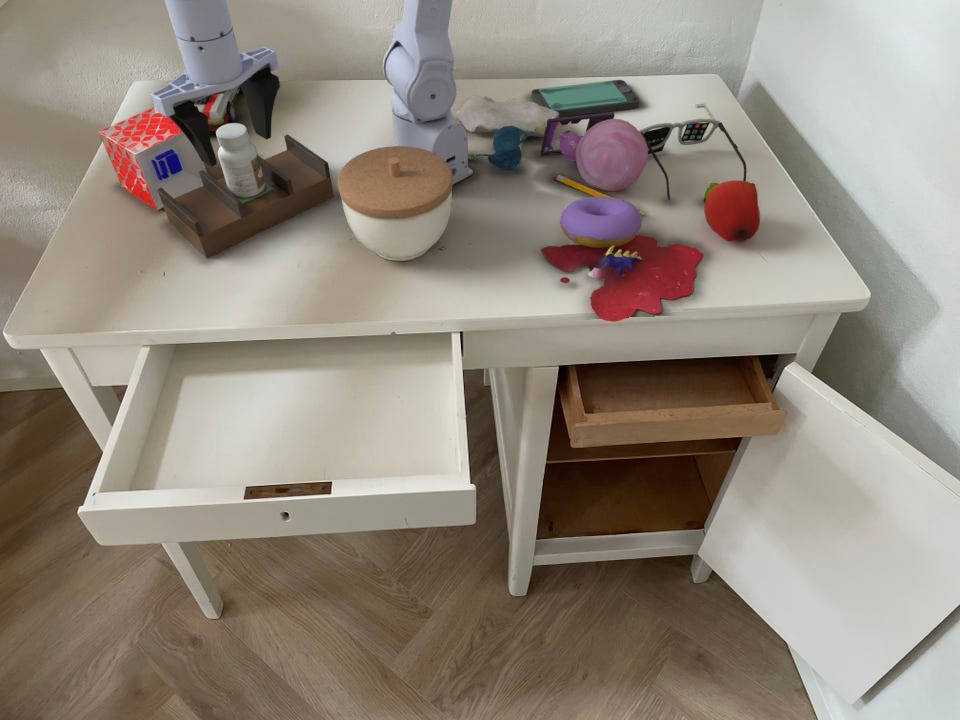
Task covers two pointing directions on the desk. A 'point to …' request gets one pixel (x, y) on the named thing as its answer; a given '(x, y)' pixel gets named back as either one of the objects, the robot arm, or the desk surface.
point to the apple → (732, 209)
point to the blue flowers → (508, 146)
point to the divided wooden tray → (250, 200)
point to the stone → (503, 115)
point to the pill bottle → (239, 161)
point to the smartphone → (587, 98)
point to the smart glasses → (684, 137)
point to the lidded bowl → (397, 200)
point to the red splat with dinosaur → (630, 274)
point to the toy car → (218, 107)
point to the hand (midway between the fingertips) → (237, 148)
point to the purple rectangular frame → (569, 133)
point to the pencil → (581, 187)
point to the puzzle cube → (152, 157)
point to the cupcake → (611, 155)
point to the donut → (600, 222)
